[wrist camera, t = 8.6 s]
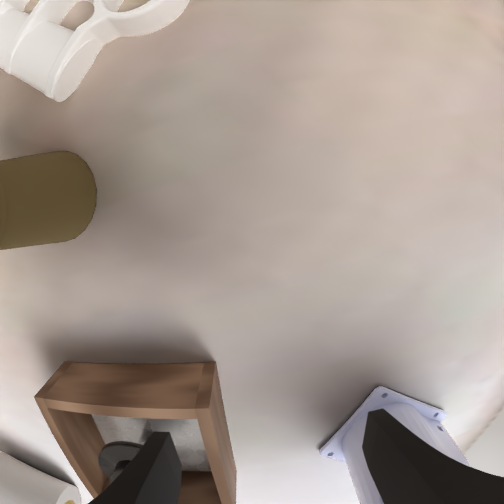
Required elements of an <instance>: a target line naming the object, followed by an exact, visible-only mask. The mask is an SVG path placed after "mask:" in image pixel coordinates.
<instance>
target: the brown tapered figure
mask: <svg viewBox="0 0 504 504" xmlns="http://www.w3.org/2000/svg"><path fill="white" fill-rule="evenodd" d="M96 192H97V189H96V185H95V181H94V176H93V174H92V172H91V170H90V168H89V167H88V165H87V163H86V162H85V161H84V160H82V159H81V158H80V157H79V156H78V155H76V154H73V153H71V152H68V151H58V152H50V153H43V154H36V155H30V156H24V157H18V158H13V159H8V160H2V161H0V250H3V249H11V248H18V247H26V246H34V245H42V244H50V243H58V242H65V241H68V240H71V239H74V238H76V237H77V236H78V235H80V234H81V233H82V232H83V231H84V230H85V229H86V227H87V226H88V224H89V223H90V221H91V219H92V217H93V214H94V210H95V207H96Z"/></svg>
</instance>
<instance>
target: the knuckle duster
mask: <svg viewBox="0 0 504 504" xmlns="http://www.w3.org/2000/svg"><path fill="white" fill-rule="evenodd" d="M29 1H30V0H0V68H1V69H3V70H5V72H7V73H8V74H11V75H13V76H15V77H17V78H18V79H20V80H22V81H24V82H25V83H27V84H29V85H30V86H32V87H34V88H36V89H37V90H39V91H41V92H42V93H44V94H45V95H46V96H47V97H49V98H51V99H54V100H56V101H57V102H62V101H64V100H66V99H67V98H68V97H69V96H70V95H71V94H72V93H73V92H74V91H75V90H76V89H77V87H78V86H79V84H80V83H81V81H82V80H83V78H84V77H85V75H86V73H87V72H88V70H89V69H90V67H91V66H92V65H93V63H94V61H95V59H96V56H97V54H98V53H99V52H100V50H101V49H102V48H103V46H104V45H105V44H107V43H109V42H111V41H113V40H114V39H116V38H118V37H121V36H126V37H136V36H143V35H147V34H150V33H153V32H156V31H158V30H160V29H162V28H164V27H166V26H167V25H169V24H170V23H172V22H173V21H174V20H175V19H177V18H178V17H179V16H180V15H181V14H182V12H183V11H184V10H185V8H186V7H187V5H188V3H189V1H190V0H150V1H148V2H147V3H145V4H144V5H142V6H140V7H138V8H136V9H133V10H130V11H125V12H118V10H119V7H120V5H121V4H122V2H123V1H124V0H40V1H39V2H38V4H37V5H36V6H35V8H34V9H33V11H32V12H31V13H30V14H28V13H25V12H24V9H25V6H26V4H27V3H28V2H29ZM80 1H88V2H91V3H93V4H94V9H95V10H94V13H93V15H92V17H91V18H90V19H89V20H87V21H86V22H84V23H83V24H81V25H79V26H78V27H77V28H76V30H75V31H73V30H70V29H68V28H65V27H63V26H60V25H59V24H60V23H61V21H62V20H63V18H64V17H65V16H66V15H67V13H68V12H69V11H70V9H71V8H72V7H73V6H74V5H75V4H76V3H78V2H80Z"/></svg>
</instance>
